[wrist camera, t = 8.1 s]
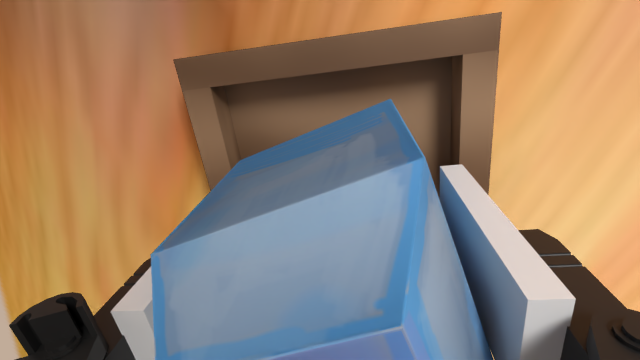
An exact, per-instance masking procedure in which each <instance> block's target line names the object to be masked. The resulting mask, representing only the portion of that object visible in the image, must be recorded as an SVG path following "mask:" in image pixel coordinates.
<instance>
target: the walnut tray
mask: <svg viewBox="0 0 640 360" xmlns="http://www.w3.org/2000/svg"><path fill="white" fill-rule="evenodd" d="M501 14H502V12H499V13H492V14H485V15H478V16H471V17H464V18H457V19H450V20H443V21H437V22H430V23H423V24H416V25H409V26H402V27H395V28H388V29H381V30H374V31H367V32H360V33H354V34H347V35H340V36H333V37H326V38H319V39H312V40H305V41H298V42H291V43H284V44H278V45H271V46H264V47H257V48H250V49H243V50H236V51H229V52H222V53H215V54H208V55H202V56H195V57H188V58H181V59H174V64H175V67H176V71H177V74H178V78H179V81H180V85H181V88H182V92H183V95H184V99H185V102H186V106H187V109H188V113H189V116H190V120H191V123H192V127H193V130H194V134H195V137H196V141H197V144H198V148H199V151H200V155H201V158H202V162H203V165H204V169H205V172H206V176H207V179H208V183H209V186H210V190H212V189H213V188H214V187H215V186H216V185H217V184H218V183H219V182H220V181H221V180H222V179H223V178H224V177H225V176H226V175H227V174H228V172H229V171H230V170H231V169H232V168H233V167H234V166H235V165H236V164H237V163H238V162H239V161H240V160H242V159H244V158H247V157H249V156H252V155H254V154H257V153H259V152H262V151H264V150H266V149H269V148H271V147H274V146H276V145H279V144H281V143H284V142H286V141H288V140H291V139H293V138H296V137H298V136H301V135H303V134H305V133H308V132H310V131H313V130H315V129H318V128H320V127H323V126H325V125H327V124H330V123H332V122H335V121H337V120H340V119H342V118H345V117H347V116H349V115H352V114H354V113H357V112H359V111H362V110H364V109H366V108H369V107H371V106H374V105H376V104H379V103H381V102H384V101H386V100H388V99H391V100H392V102H393V103H394V105H395V107H396V108H397V110H398V112H399V114H400V115H401V117H402V119H403V120H404V122H405V124H406V126H407V127H408V129H409V131H410V132H411V134H412V136H413V137H414V139H415V141H416V143H417V144H418V146H419V148H420V149H421V151H422V153H423V155H424V156H425V159H426V162H427V164H428V167H429V170H430V173H431V176H432V179H433V182H434V185H435V188H436V191H437V194H438V197H439V200H440V166H449V165H460V164H462V165H463V166H464V167H465V168H466V170H467V171H468V172H469V173H470V174H471V175H472V177H473V178H474V179H475V180H476V181H477V183H478V184H479V185H480V186H481V187H482V188H483V190H484V191H485V192H486V193H487V194H488V191H489V177H490V164H491V150H492V136H493V123H494V109H495V96H496V82H497V68H498V55H499V41H500V28H501Z"/></svg>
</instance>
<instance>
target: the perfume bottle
mask: <svg viewBox="0 0 640 360" xmlns="http://www.w3.org/2000/svg"><path fill="white" fill-rule="evenodd" d="M151 274H152V300H153V326H154V352H155V360H493V357H492V354H491V351H490V348H489V345H488V342H487V339H486V336H485V333H484V330H483V327H482V324H481V321H480V318H479V316H478V313H477V310H476V307H475V304H474V301H473V298H472V295H471V292H470V289H469V286H468V283H467V280H466V277H465V274H464V271H463V268H462V265H461V262H460V259H459V256H458V253H457V250H456V247H455V244H454V241H453V239H452V236H451V233H450V230H449V227H448V224H447V221H446V218H445V215H444V212H443V209H442V206H441V203H440V200H439V197H438V194H437V191H436V188H435V185H434V182H433V179H432V176H431V173H430V170H429V167H428V164H427V162H426V159H425V156H424V155H423V153H422V151H421V149H420V148H419V146H418V144H417V143H416V141H415V139H414V137H413V136H412V134H411V132H410V131H409V129H408V127H407V126H406V124H405V122H404V120H403V119H402V117H401V115H400V114H399V112H398V110H397V108H396V107H395V105H394V103H393V102H392V100H391V99H388V100H386V101H384V102H381V103H379V104H376V105H374V106H371V107H369V108H366V109H364V110H362V111H359V112H357V113H354V114H352V115H349V116H347V117H345V118H342V119H340V120H337V121H335V122H332V123H330V124H327V125H325V126H323V127H320V128H318V129H315V130H313V131H310V132H308V133H305V134H303V135H301V136H298V137H296V138H293V139H291V140H288V141H286V142H284V143H281V144H279V145H276V146H274V147H271V148H269V149H266V150H264V151H262V152H259V153H257V154H254V155H252V156H249V157H247V158H244V159H242V160H240V161H239V162H238V163H237V164H236V165H235V166H234V167H233V168H232V169H231V170H230V171H229V172H228V174H227V175H226V176H225V177H224V178H223V179H222V180H221V181H220V182H219V183H218V184H217V185H216V186H215V187H214V188H213V189H212V190H211V191H210V193H209V194H208V195H207V196H206V197H205V198H204V199H203V200H202V201H201V202H200V203H199V204H198V205H197V206H196V207H195V208H194V209H193V210H192V212H191V213H190V214H189V215H188V216H187V217H186V218H185V219H184V220H183V221H182V222H181V223H180V224H179V225H178V226H177V227H176V228H175V229H174V231H173V232H172V233H171V234H170V235H169V236H168V237H167V238H166V239H165V240H164V241H163V242H162V243H161V244H160V245H159V246H158V247H157V248H156V250H155V251H154V252H153V253H152V254H151Z"/></svg>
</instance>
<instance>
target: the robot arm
mask: <svg viewBox="0 0 640 360" xmlns="http://www.w3.org/2000/svg"><path fill="white" fill-rule="evenodd" d="M440 203H441V206H442V209H443V212H444V215H445V218H446V221H447V224H448V227H449V230H450V233H451V236H452V239H453V241H454V244H455V247H456V250H457V253H458V256H459V259H460V262H461V265H462V268H463V271H464V274H465V277H466V280H467V283H468V286H469V289H470V292H471V295H472V298H473V301H474V304H475V307H476V310H477V313H478V316H479V318H480V321H481V324H482V327H483V330H484V333H485V336H486V339H487V342H488V345H489V348H490V350H491V352H492V354H493V357H494V359H495V360H640V312H638V311H634V310H631V309H627V308H626V307H625V306H624V305H623V304H622V303H621V302H620V301H619V300H618V299H617V298H616V297H615V296H614V295H613V294H612V293H611V292H610V291H609V290H608V289H607V288H606V287H605V286H604V285H603V284H602V283H601V282H600V281H599V280H598V279H597V278H596V277H595V276H594V275H593V274H592V273H591V272H590V271H589V270H588V269H587V268H586V267H582V263H581V262H580V261H579V260H578V259H577V258H576V257H575V256H574V255H571V252H570V251H569V250H568V249H567V248H566V247H565V246H564V245H562V244H561V243H560V242H559V241H558V240H557V239H555V238H554V237H552V236H550V235H548V234H546V233H544V232H543V231H541V230H539V229H534V230H517V229H516V227H515V226H514V225H513V224H512V223H511V222H510V220H509V219H508V218H507V217H506V216H505V214H504V213H503V212H502V211H501V210H500V209H499V207H498V206H497V205H496V204H495V203H494V201H493V200H492V199H491V198H490V197H489V196H488V194H487V193H486V192H485V191H484V190H483V188H482V187H481V186H480V185H479V184H478V183H477V181H476V180H475V179H474V178H473V177H472V175H471V174H470V173H469V172H468V171H467V170H466V168H465V167H464V166H463V165H462V164H460V165H449V166H440ZM9 326H10V328H11V329H12V331H13V332H14V334H15V335H16V337H17V338H18V340H19V342H20V343H21V345H22V346H23V348H24V349H25V351H26V352H27V354H28V356H27V357H23V358H19V359H16V360H155V352H154V326H153V300H152V274H151V258H150V259H148V260H147V261H145V262H144V263H143V264H142V265H141V266H140V267H139V268H138V270H137V271H136V272H135V273H134V276H131V277H130V278H129V279H128V280H127V281H126V282H125V283H124V286H122V287H121V288H120V289H119V290H118V291H117V292H116V293H115V294H114V295H113V296H112V297H111V298H110V299H109V300H108V301H107V302H106V303H105V305H104V306H103V307H102V308H101V309H100V310H99V311H98V312H97V313H96V314H95V315H94V316H93V314H92V312H91V310H90V308H89V307H88V305H87V303H86V301H85V299H84V297H83V296H82V295H81V294H79V293H73V292H72V293H65V294H60V295H57V296H54V297H51V298H49V299H46V300H44V301H42V302H40V303H38V304H36V305H34V306H32V307H31V308H29V309H28V310H27V311H25V312H24V313H22V314H21V315H19V316H18V317H17V318H16V319H15V320H14V321H13V322H12V323H11V324H10V325H9Z"/></svg>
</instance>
